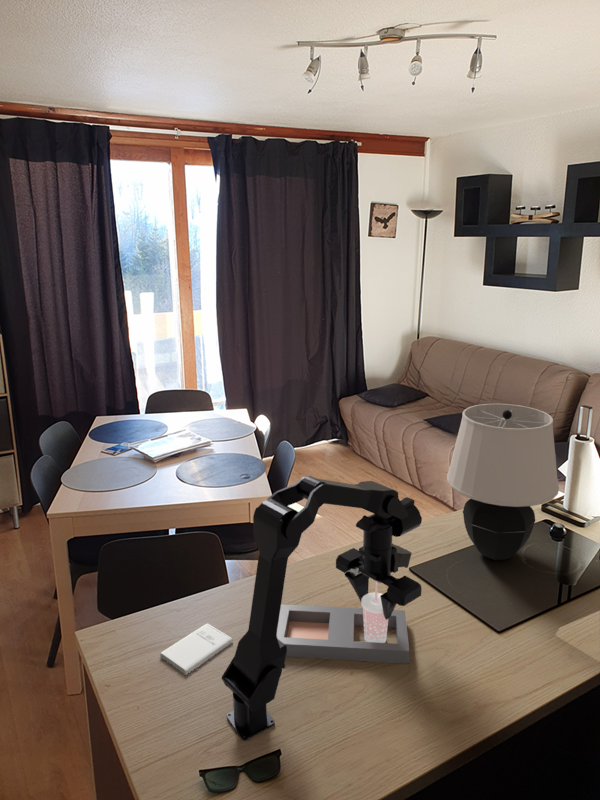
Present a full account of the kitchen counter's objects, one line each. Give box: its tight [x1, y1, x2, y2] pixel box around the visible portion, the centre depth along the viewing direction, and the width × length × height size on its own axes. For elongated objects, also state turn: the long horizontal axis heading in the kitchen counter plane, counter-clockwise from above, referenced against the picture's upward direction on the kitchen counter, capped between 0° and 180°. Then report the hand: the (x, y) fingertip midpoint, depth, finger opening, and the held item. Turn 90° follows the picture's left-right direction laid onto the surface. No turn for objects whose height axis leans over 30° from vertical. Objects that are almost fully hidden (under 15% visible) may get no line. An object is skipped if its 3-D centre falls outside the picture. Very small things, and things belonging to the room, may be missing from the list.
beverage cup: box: [360, 581, 389, 643], centre depth 122 cm, size 6×6×14 cm
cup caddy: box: [277, 603, 410, 665], centre depth 124 cm, size 27×13×3 cm, turn 84°
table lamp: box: [446, 403, 560, 561], centre depth 150 cm, size 27×27×40 cm
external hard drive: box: [159, 623, 233, 676], centre depth 122 cm, size 2×8×12 cm
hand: (375, 611), depth 122 cm, fingers closed on beverage cup, 6 cm apart
